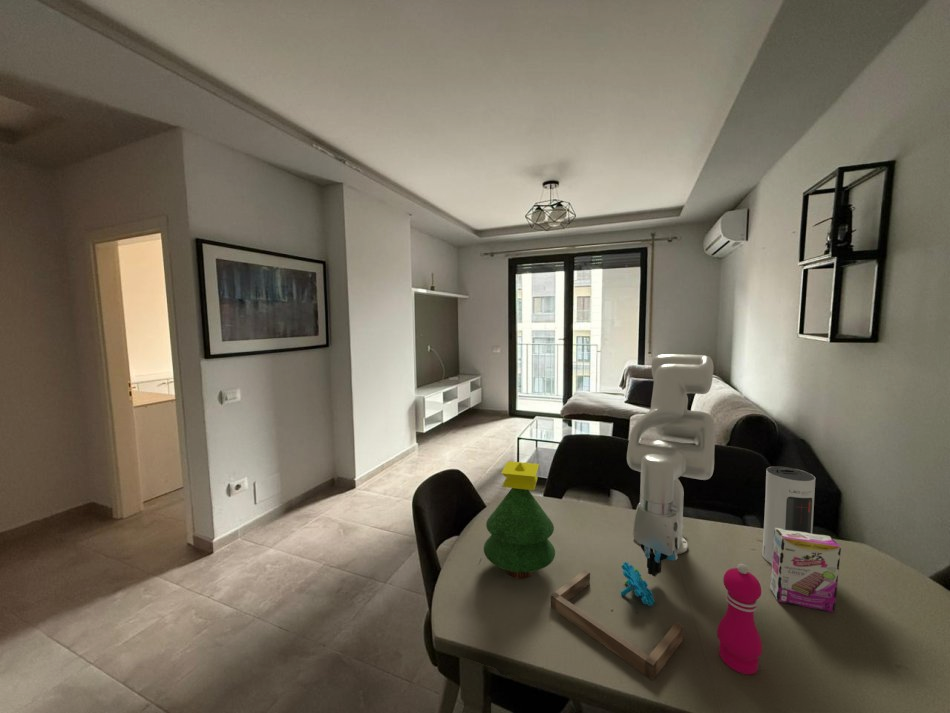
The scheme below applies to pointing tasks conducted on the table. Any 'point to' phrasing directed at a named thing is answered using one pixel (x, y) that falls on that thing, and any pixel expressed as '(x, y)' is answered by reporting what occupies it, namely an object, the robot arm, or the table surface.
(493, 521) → the decorative tree
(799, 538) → the candy bar box
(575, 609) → the frame
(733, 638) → the pepper mill
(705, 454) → the robot arm
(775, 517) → the speaker
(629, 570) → the gear
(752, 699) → the table surface
